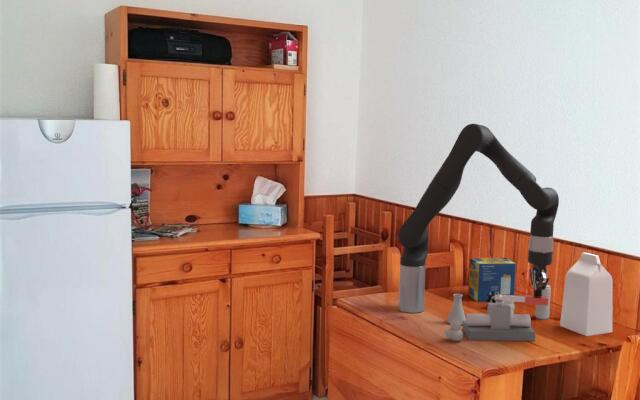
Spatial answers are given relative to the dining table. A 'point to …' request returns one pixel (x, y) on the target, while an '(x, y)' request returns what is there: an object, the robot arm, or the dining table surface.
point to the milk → (587, 297)
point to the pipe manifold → (499, 325)
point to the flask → (457, 310)
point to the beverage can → (544, 310)
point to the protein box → (491, 277)
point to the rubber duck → (454, 331)
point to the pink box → (523, 299)
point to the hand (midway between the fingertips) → (537, 300)
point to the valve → (509, 303)
